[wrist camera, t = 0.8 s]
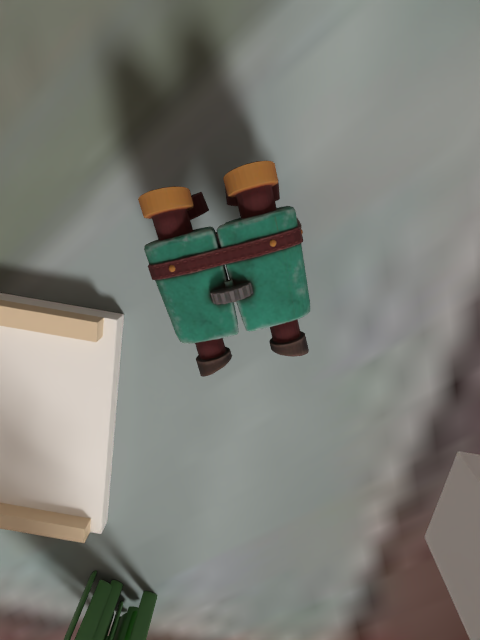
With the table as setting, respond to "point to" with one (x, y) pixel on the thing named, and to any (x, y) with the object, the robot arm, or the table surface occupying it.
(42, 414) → the display riser
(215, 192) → the table surface
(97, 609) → the daffodil flowers
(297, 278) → the binoculars
